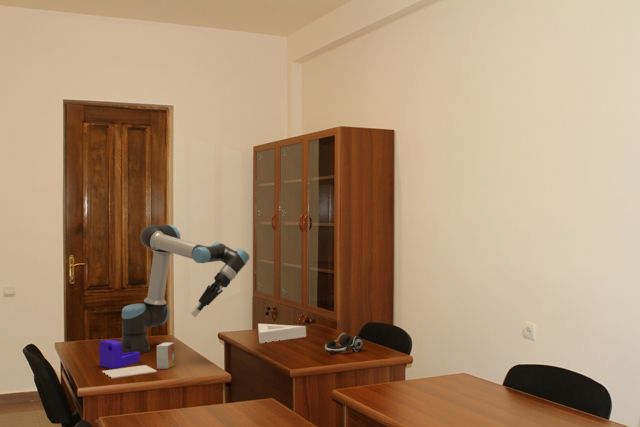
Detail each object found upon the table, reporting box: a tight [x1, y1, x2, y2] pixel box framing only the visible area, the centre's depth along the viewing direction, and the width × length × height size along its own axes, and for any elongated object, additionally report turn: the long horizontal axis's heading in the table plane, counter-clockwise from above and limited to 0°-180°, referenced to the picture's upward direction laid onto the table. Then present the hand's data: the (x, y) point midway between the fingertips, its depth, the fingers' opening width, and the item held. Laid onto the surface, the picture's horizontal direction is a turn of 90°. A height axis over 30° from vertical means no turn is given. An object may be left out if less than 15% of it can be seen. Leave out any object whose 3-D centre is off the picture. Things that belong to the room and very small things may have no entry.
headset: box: [324, 333, 364, 355], centre depth 360 cm, size 17×8×20 cm
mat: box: [101, 364, 158, 379], centre depth 322 cm, size 15×20×1 cm
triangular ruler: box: [257, 323, 307, 344], centre depth 400 cm, size 30×26×6 cm
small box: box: [156, 342, 176, 370], centre depth 331 cm, size 8×6×10 cm
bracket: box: [98, 339, 141, 370], centre depth 339 cm, size 18×11×12 cm, turn 141°
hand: (193, 315), depth 337 cm, fingers closed
